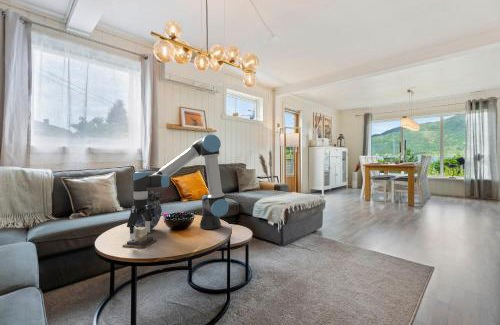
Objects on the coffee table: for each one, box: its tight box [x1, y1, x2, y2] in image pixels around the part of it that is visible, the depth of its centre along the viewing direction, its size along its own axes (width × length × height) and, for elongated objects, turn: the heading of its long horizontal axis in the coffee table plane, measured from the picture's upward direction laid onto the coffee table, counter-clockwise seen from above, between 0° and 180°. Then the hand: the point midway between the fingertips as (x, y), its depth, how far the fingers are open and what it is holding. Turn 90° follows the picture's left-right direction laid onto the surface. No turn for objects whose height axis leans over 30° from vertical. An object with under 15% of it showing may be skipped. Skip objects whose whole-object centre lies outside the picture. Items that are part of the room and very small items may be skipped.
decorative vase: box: [130, 189, 163, 235], centre depth 160 cm, size 21×19×28 cm
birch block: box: [134, 227, 148, 242], centre depth 138 cm, size 5×5×8 cm
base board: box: [122, 236, 158, 249], centre depth 138 cm, size 13×13×2 cm
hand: (140, 235), depth 138 cm, fingers open, 13 cm apart
